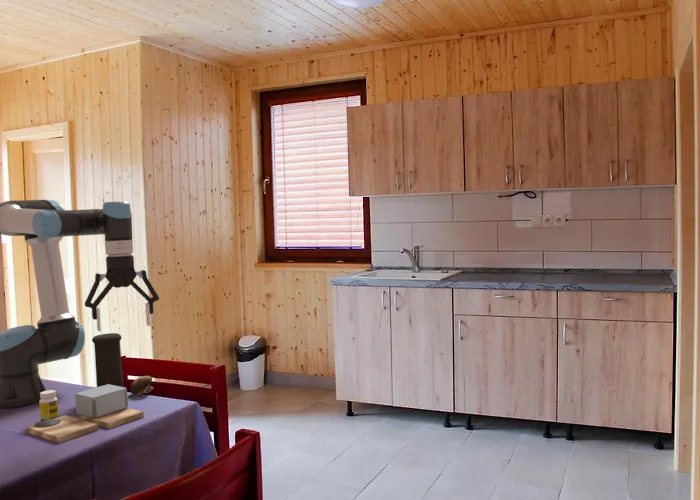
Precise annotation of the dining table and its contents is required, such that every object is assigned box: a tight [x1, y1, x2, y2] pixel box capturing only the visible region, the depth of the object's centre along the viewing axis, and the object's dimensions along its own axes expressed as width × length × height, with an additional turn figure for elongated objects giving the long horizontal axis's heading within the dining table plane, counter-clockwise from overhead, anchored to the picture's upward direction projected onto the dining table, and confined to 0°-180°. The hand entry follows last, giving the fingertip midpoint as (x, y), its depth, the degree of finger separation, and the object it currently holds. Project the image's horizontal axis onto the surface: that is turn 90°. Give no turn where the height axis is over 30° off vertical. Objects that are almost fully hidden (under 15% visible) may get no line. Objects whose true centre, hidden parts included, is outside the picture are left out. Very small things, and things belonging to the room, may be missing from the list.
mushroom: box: [130, 375, 155, 396], centre depth 202 cm, size 8×8×6 cm
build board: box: [26, 415, 99, 444], centre depth 170 cm, size 17×11×2 cm, turn 54°
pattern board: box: [75, 407, 145, 430], centre depth 179 cm, size 16×11×4 cm
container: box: [91, 332, 125, 388], centre depth 202 cm, size 9×9×20 cm
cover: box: [74, 384, 129, 418], centre depth 180 cm, size 9×11×6 cm
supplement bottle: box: [38, 389, 60, 421], centre depth 179 cm, size 5×5×8 cm
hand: (124, 327), depth 183 cm, fingers open, 13 cm apart
